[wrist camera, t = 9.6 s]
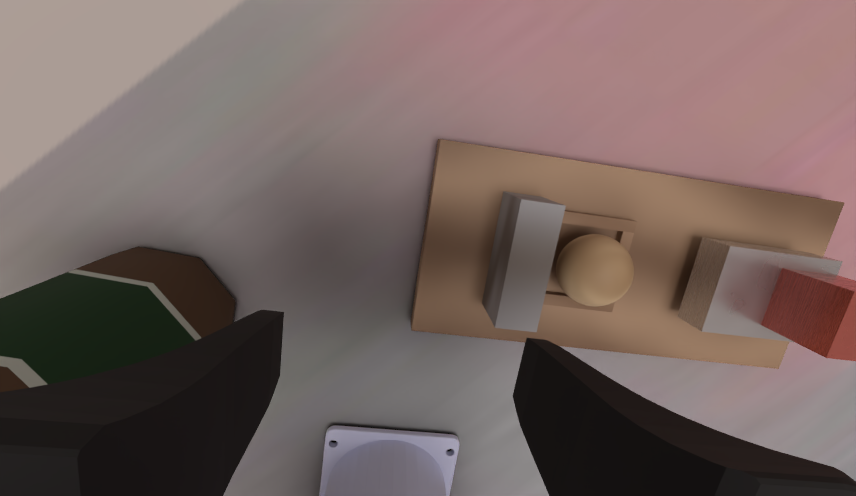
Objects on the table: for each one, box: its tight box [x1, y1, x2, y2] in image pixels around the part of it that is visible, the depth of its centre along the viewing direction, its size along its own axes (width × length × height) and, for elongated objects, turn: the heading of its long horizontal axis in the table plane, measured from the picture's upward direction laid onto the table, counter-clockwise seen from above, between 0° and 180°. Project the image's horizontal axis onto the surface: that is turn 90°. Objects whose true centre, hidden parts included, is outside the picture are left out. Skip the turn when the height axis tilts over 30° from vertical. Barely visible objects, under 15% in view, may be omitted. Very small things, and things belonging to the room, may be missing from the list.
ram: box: [677, 238, 856, 361], centre depth 19 cm, size 4×6×5 cm
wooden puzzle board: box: [411, 139, 844, 369], centre depth 21 cm, size 10×22×4 cm, turn 81°
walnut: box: [556, 234, 634, 306], centre depth 20 cm, size 4×4×4 cm
